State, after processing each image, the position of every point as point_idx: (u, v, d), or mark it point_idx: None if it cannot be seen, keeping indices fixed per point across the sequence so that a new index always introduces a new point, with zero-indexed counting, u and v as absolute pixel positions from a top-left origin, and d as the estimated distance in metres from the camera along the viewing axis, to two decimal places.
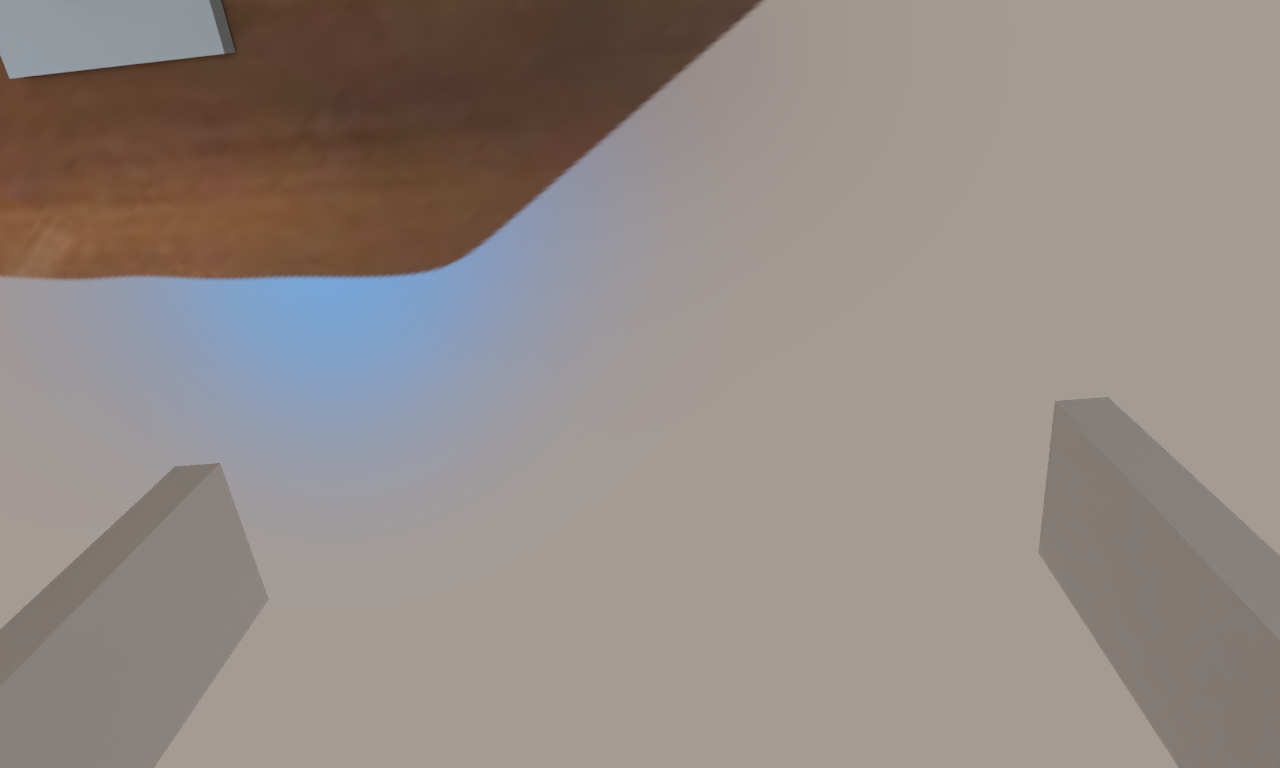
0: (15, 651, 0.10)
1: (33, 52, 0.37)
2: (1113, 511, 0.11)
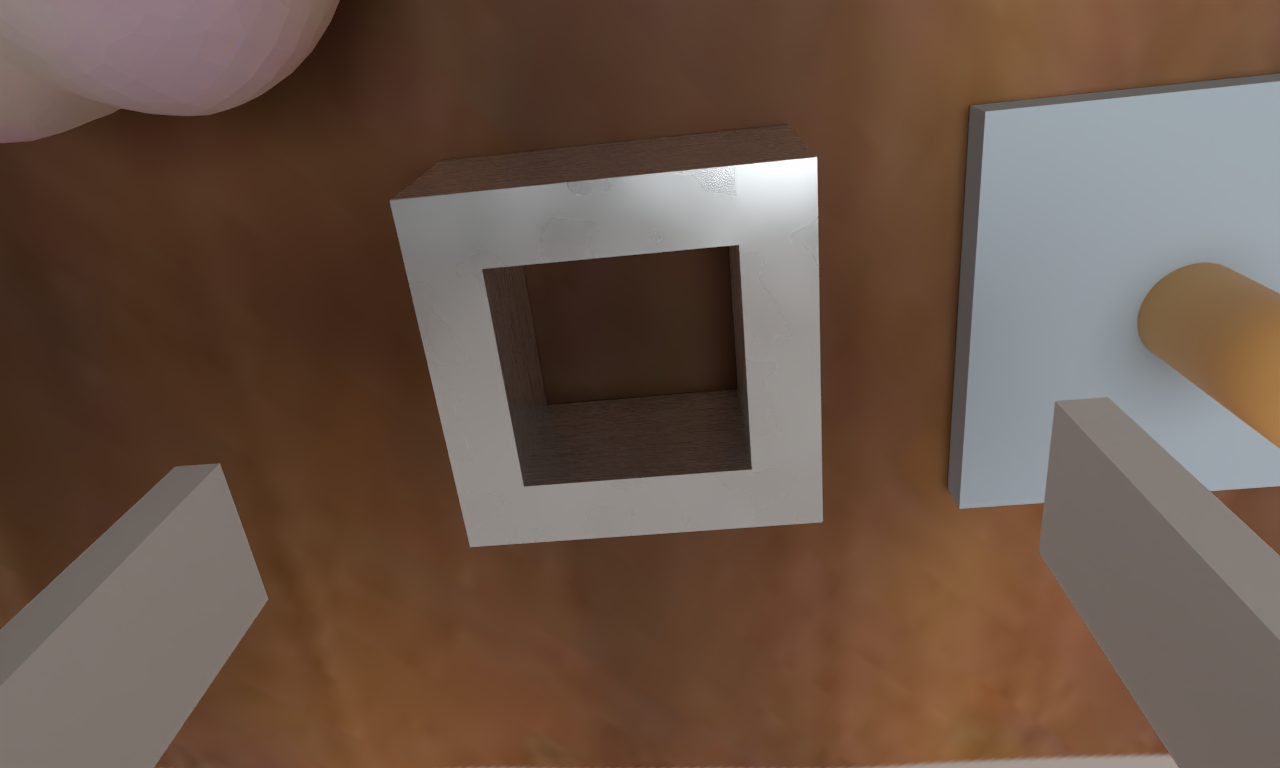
0: (15, 651, 0.10)
1: None
2: (1113, 511, 0.11)
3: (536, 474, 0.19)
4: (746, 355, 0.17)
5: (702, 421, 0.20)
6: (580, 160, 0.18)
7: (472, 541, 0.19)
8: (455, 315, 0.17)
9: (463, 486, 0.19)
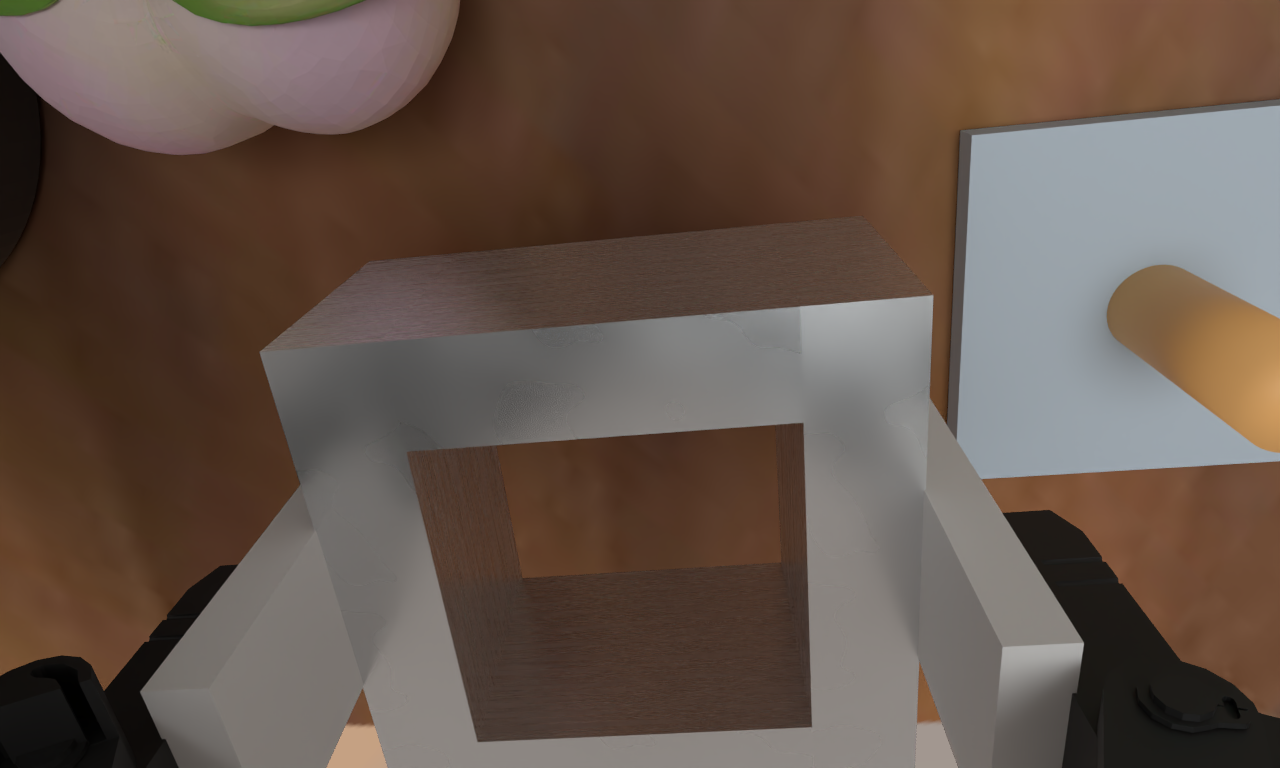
0: (280, 556, 0.11)
1: None
2: None
3: (497, 717, 0.13)
4: (809, 577, 0.11)
5: (734, 622, 0.15)
6: (562, 275, 0.12)
7: None
8: (368, 515, 0.11)
9: (390, 740, 0.13)
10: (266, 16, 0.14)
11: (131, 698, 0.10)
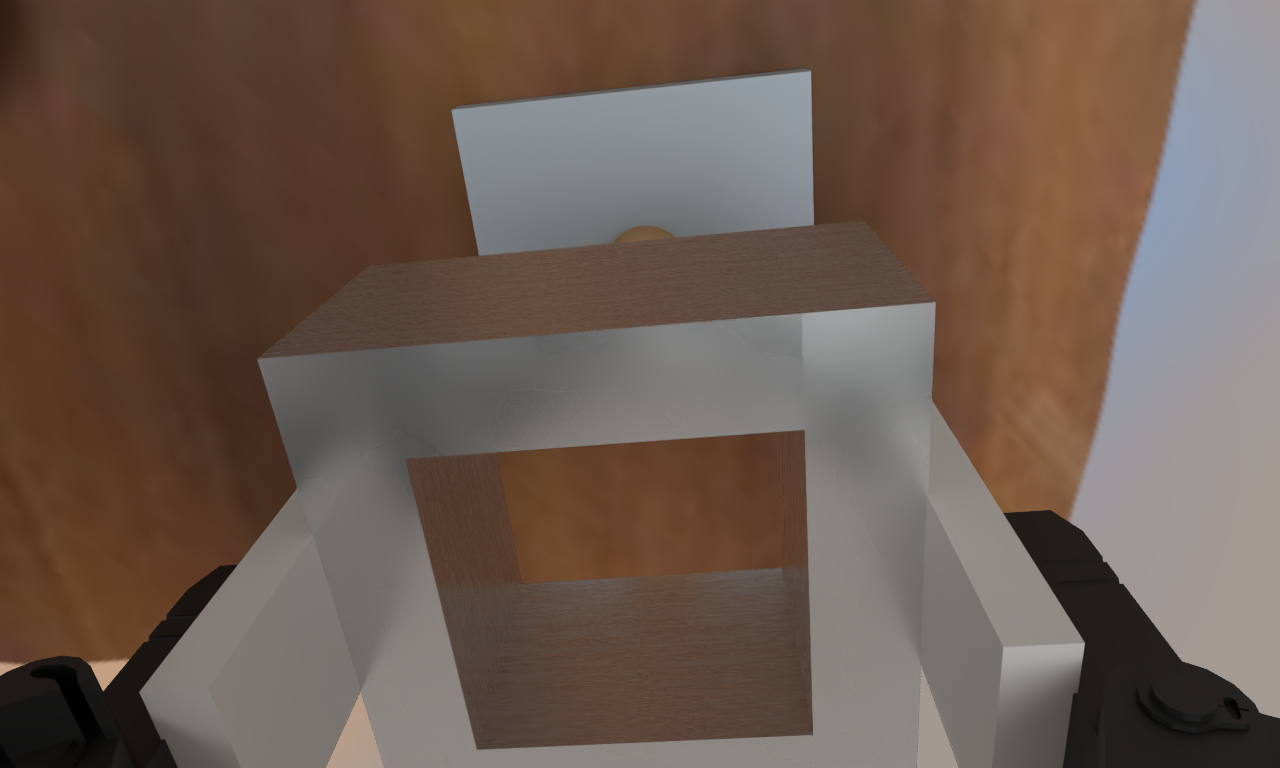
0: (279, 556, 0.11)
1: None
2: None
3: (497, 724, 0.13)
4: (810, 584, 0.11)
5: (735, 627, 0.14)
6: (561, 280, 0.12)
7: None
8: (366, 523, 0.11)
9: (388, 747, 0.13)
10: None
11: (131, 698, 0.10)
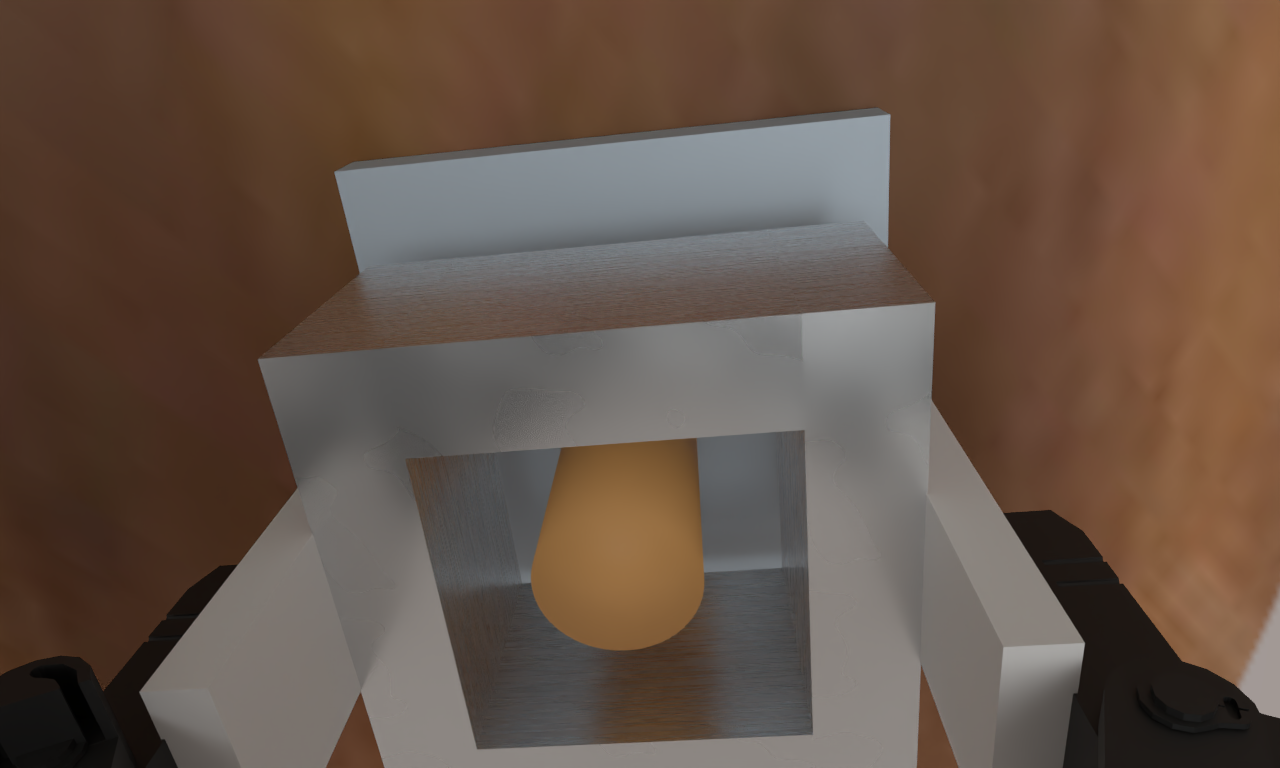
0: (279, 556, 0.11)
1: None
2: None
3: (497, 724, 0.13)
4: (810, 584, 0.11)
5: (735, 628, 0.14)
6: (561, 281, 0.12)
7: None
8: (367, 523, 0.11)
9: (389, 747, 0.13)
10: None
11: (131, 698, 0.10)
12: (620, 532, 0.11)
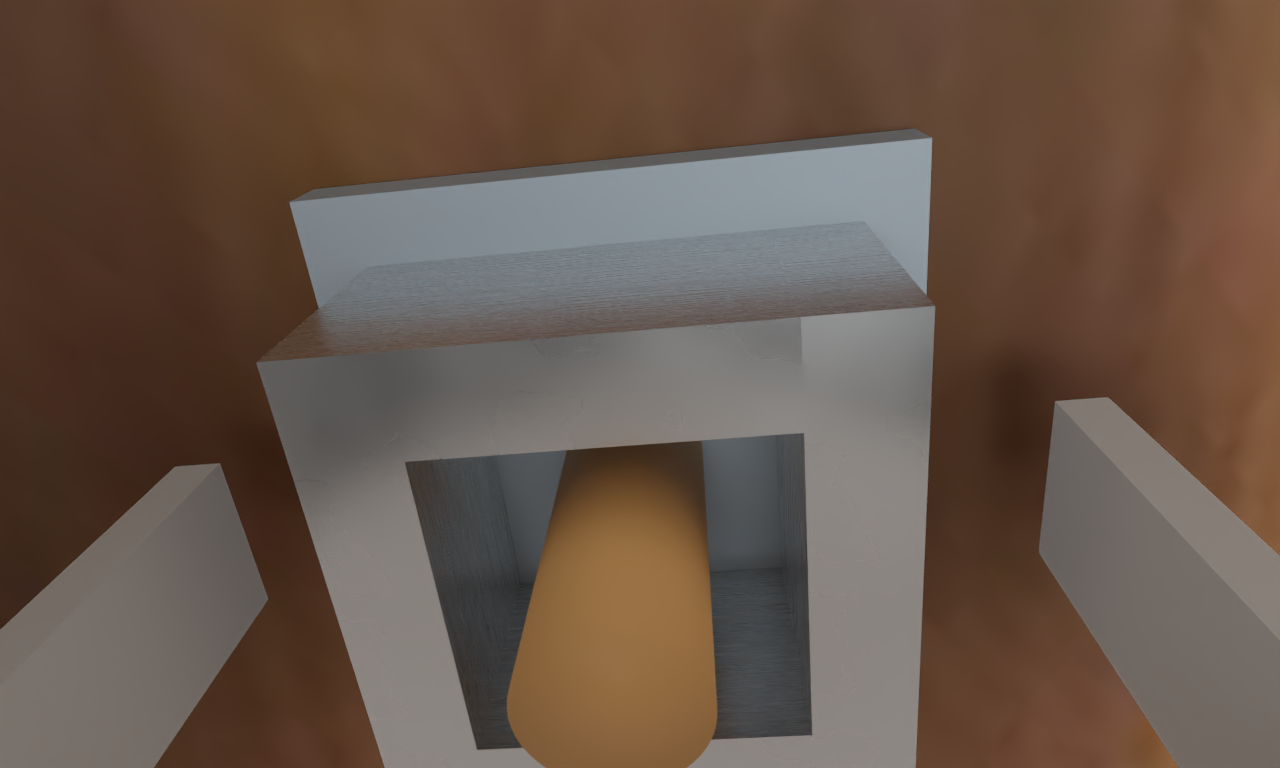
0: (15, 651, 0.10)
1: None
2: (1113, 511, 0.11)
3: (497, 724, 0.13)
4: (810, 586, 0.11)
5: (734, 628, 0.15)
6: (561, 282, 0.12)
7: None
8: (366, 526, 0.11)
9: (389, 747, 0.13)
10: None
11: None
12: (615, 656, 0.09)
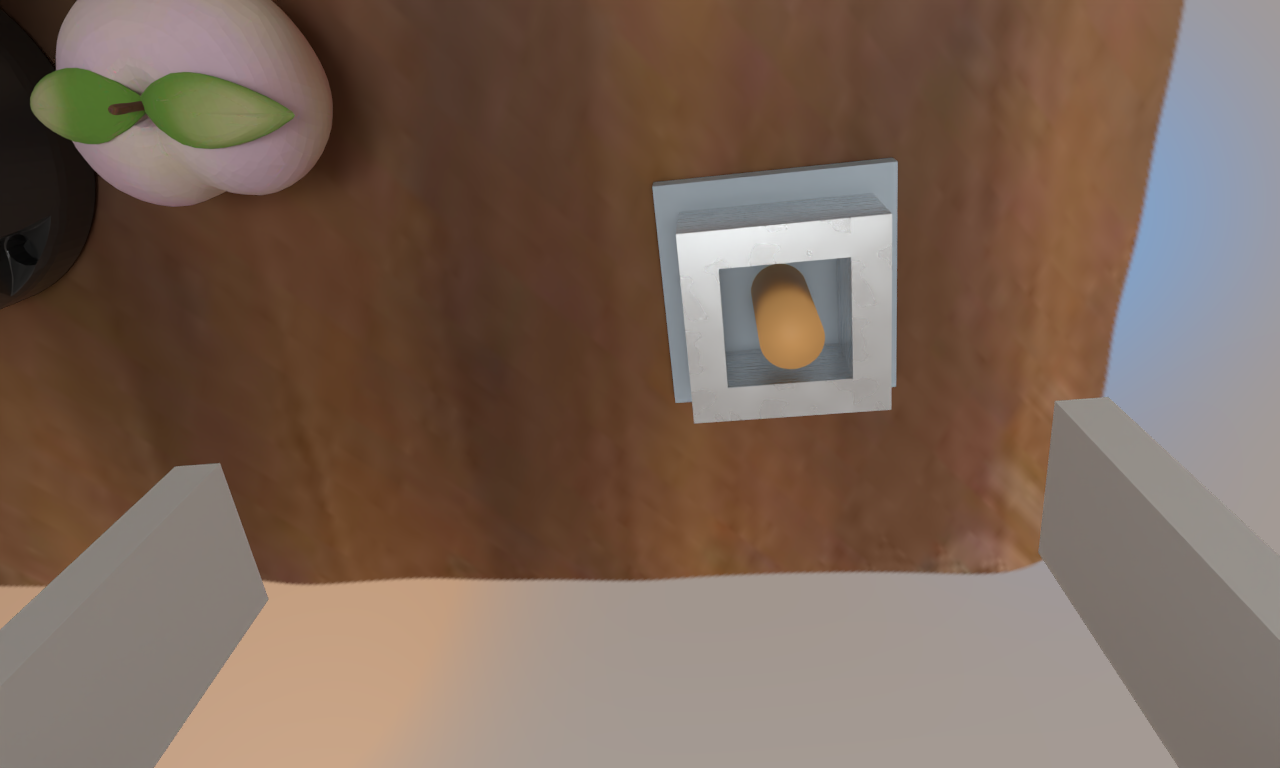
0: (15, 651, 0.10)
1: None
2: (1113, 511, 0.11)
3: (732, 382, 0.35)
4: (852, 315, 0.33)
5: (820, 358, 0.36)
6: (763, 213, 0.33)
7: (695, 420, 0.35)
8: (701, 293, 0.33)
9: (694, 387, 0.34)
10: (217, 145, 0.28)
11: None
12: (794, 317, 0.31)
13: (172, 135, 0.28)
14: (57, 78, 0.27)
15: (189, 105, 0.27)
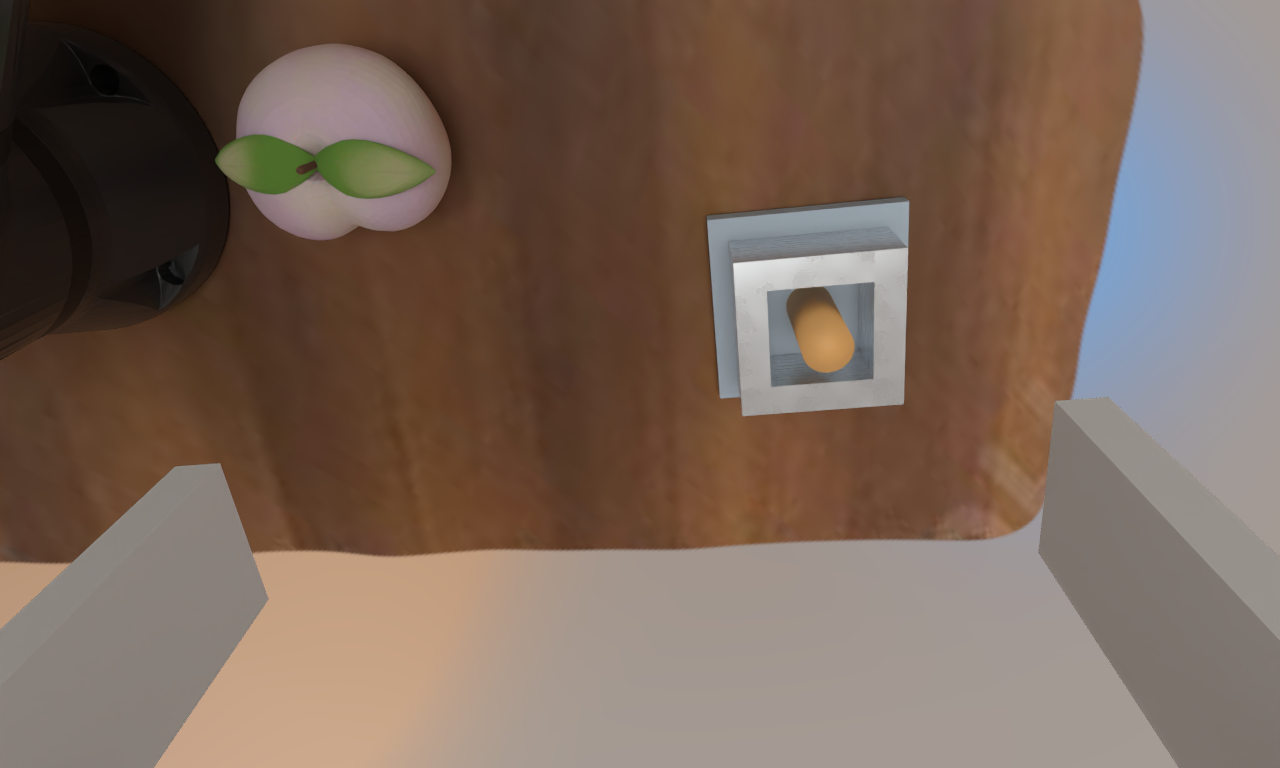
0: (15, 651, 0.10)
1: None
2: (1113, 511, 0.11)
3: (774, 382, 0.42)
4: (874, 327, 0.40)
5: None
6: (801, 244, 0.41)
7: (743, 413, 0.42)
8: (752, 310, 0.40)
9: (743, 386, 0.42)
10: (375, 195, 0.35)
11: None
12: (830, 331, 0.38)
13: (339, 188, 0.35)
14: (248, 142, 0.34)
15: (357, 165, 0.34)
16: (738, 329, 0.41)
